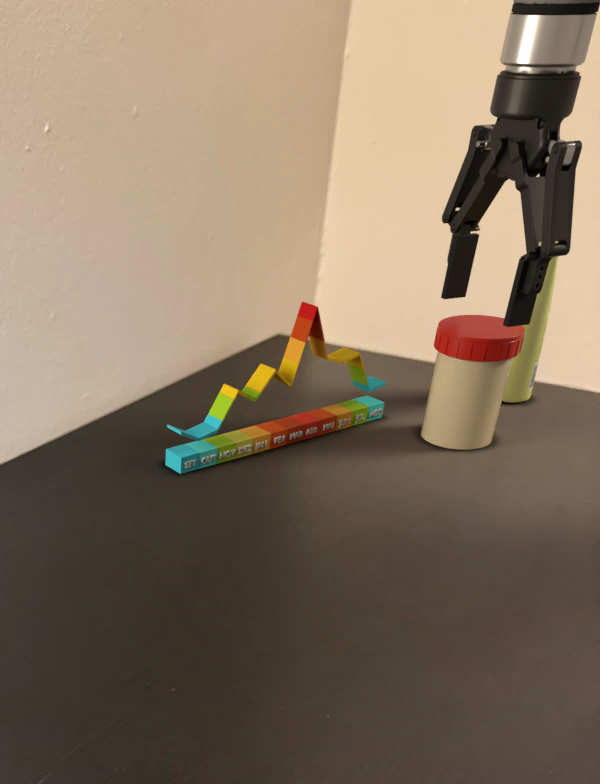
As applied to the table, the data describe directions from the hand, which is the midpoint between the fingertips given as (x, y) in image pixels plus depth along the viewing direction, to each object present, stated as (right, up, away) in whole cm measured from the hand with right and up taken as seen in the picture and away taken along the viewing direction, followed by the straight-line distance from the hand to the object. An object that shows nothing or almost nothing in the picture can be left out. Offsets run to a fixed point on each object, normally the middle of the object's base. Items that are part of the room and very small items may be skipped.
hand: (483, 310), depth 107 cm
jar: (+1, -11, +9) cm, 14 cm away
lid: (0, -2, +1) cm, 2 cm away
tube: (+11, -3, +19) cm, 22 cm away
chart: (-20, -12, +9) cm, 25 cm away
